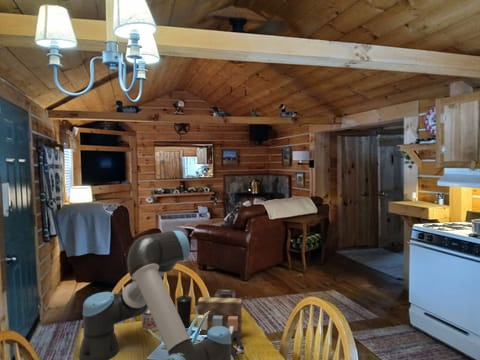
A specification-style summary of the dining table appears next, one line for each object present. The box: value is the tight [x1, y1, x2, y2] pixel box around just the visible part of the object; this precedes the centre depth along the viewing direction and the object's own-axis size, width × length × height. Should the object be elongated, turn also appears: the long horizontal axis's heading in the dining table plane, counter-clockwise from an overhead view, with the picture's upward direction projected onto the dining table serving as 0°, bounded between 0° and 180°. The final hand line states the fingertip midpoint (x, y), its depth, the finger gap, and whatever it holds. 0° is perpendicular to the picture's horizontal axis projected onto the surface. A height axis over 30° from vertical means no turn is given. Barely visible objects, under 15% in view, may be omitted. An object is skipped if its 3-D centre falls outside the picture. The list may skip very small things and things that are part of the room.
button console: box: [197, 296, 243, 340], centre depth 159 cm, size 19×6×17 cm, turn 85°
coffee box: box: [214, 288, 237, 298], centre depth 170 cm, size 9×6×16 cm
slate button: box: [213, 315, 223, 327], centre depth 154 cm, size 4×8×5 cm, turn 175°
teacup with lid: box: [141, 309, 158, 333], centre depth 166 cm, size 12×9×12 cm
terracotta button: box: [228, 315, 238, 331], centre depth 153 cm, size 4×8×5 cm, turn 175°
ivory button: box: [197, 314, 208, 330], centre depth 154 cm, size 4×8×5 cm, turn 175°
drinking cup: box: [175, 284, 193, 329], centre depth 167 cm, size 8×8×20 cm
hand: (231, 329), depth 145 cm, fingers closed
